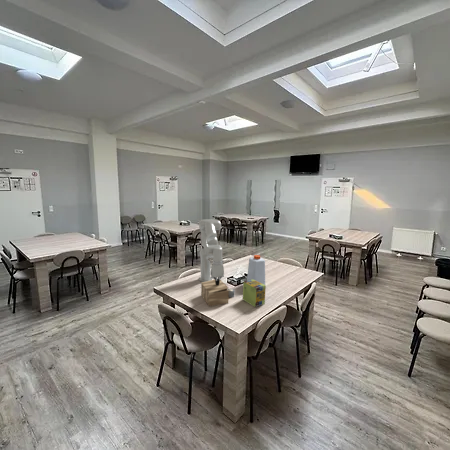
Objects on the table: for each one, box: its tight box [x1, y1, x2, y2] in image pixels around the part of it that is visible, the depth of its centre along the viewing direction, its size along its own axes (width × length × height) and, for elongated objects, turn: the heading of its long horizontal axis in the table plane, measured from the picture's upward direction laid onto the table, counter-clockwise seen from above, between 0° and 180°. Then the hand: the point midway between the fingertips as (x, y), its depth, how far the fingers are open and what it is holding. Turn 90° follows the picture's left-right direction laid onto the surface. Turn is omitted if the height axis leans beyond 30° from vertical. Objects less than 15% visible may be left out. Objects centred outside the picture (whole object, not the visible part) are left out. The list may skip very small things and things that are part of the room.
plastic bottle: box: [246, 254, 266, 285], centre depth 223 cm, size 15×15×28 cm
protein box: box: [242, 279, 266, 308], centre depth 191 cm, size 10×15×16 cm
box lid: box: [200, 279, 229, 293], centre depth 193 cm, size 20×16×1 cm
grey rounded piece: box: [228, 288, 236, 298], centre depth 201 cm, size 6×6×5 cm
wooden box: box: [200, 284, 229, 307], centre depth 194 cm, size 20×16×11 cm
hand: (217, 284), depth 193 cm, fingers closed
